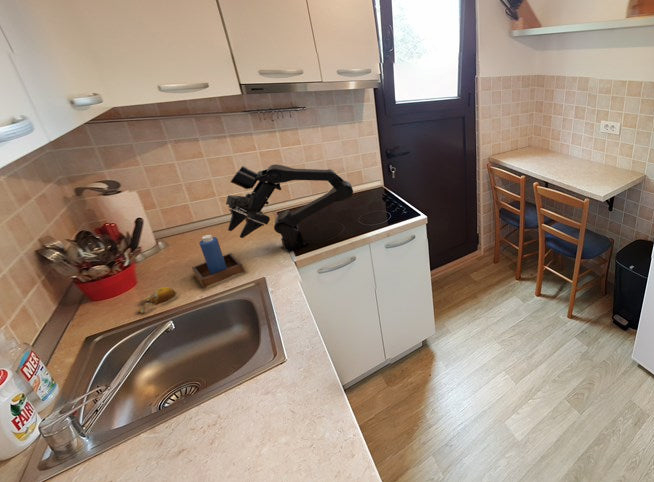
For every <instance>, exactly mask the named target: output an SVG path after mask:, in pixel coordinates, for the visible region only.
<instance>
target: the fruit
mask: <svg viewBox="0 0 654 482" xmlns="http://www.w3.org/2000/svg"><path fill="white" fill-rule="evenodd" d="M175 296H176V291H175V290H174V289H173V288H171V287H159V288H158V289H157V290H156V291H154V292H152V294H150V295H148V296H146V297H145V298H144V300H145V304H144V306H146V307H153V306H155V305H160V304H163V303H166V302H168V301H170V300H171V299H173V298H174V297H175ZM141 305H143V303H141ZM144 308H145V307H142V309H139V313H141V314H142V313H146V310H145V309H144Z"/></svg>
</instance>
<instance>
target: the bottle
mask: <svg viewBox="0 0 654 482" xmlns="http://www.w3.org/2000/svg"><path fill="white" fill-rule="evenodd" d="M199 247H200V249H201V252H202V255H203V257H204V260H205V261H204V262H206V263H207V266H208V269H209V272H210V274H211V275H212V274H215V273H218V272H220V271H223V270H225V269H227V266H226V263H225V260H224V257H223V256H224V255H223V251H222V248H221V246H220V242H219V240H218V237H215V236H213V235H212V234H206V235H203V236H202V237H201V240H200V241H199Z"/></svg>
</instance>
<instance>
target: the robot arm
mask: <svg viewBox="0 0 654 482" xmlns="http://www.w3.org/2000/svg"><path fill="white" fill-rule="evenodd" d="M291 181H320V182H322V181H323V182H328V183H329V184H330V186H332V188H331V189H330V190H329V191H328V192H327V193H325V194H323V195H321V196H319V197H317V198H316V199H314V200H312V201H310V202H309V203H307V204H305V205H303V206H301V207H299V208H298V209H295V210H292V211H290V209H289V208H286V210H285V211H283V212H281V213H278V215H277V216H276V217H275V220H274V225H273V229H274V232H276V233H277V234H279V235H280V236H281V238H280V241H281V245H282V248H283V249H285V250H286V251H288V252H293V251H295V250H297V249H300V248H302V247H305V246H306V243H305V242H304V239H303V234H302V231H301V230H300V229H299V223H300V222H302V221H303V220H305V219H306V218H308V217H311V216H312V215H313V214H315V213H317V212H319V211H321V210H323V209H324V208H327V207H328V206H329V205H332V204H333V203H338V202H342V201H345V200H347V199H350V198H351V197H353V195H354V189H353V186H352V184H351V183H350V182H349V181H347V180H344V179H343V178H342V177H341V176H339V175H338V174H337V173H336V172H335V171H334V170H333V169H330V168H328V169H318V168H317V169H316V168H315V169H313V168H295V167H294V168H293V167H289V166H286V165H281V164H271V165H270V166H269V167H267V168H266V169H262V170H259V171H258V172H256V171H253V170H251V169H250V168H248V167H246V166H245V165H242V166H241V167H240V169H238V171H236V172H235V174H234V175H233V177H232V178H231V180H230V183H232V184H233V185H235V186H238V187H240V188H242V189H245V190H250V189H253V190H252V191H251V193H246V195H245V196H242V195H231V194H230V195H227V198H226V202H225V204H226V205H228V209H229V210H228V211H229V212H230V214H231V217H230V221H229V225H228V228H227V231H229V232H233V231H234V230H235V229H236V228H237V227H239V225H240V224H241V223H243V222H244V221H245V224H244V226H243V228H242V230H241V232H240V234H239V238H241V239H244V238H245V237H247V236H248V235H250V234H252V233H253V232H254V231H256V230H257V229H259V228H261V227H264V226H265V225H268V224H269V222H270V221H271V219H270V216H269V215H267V214H264V213H263V212H264V211H262V210H263V208H264V207H265V205H267V206H268V205H269V204H270V202H269V201H268V200H269V199H270V198H271V196H272V194H273V193H274V191H275V190H278V191H282V187H281V184H283V183H287V182H291Z"/></svg>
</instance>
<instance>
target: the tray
mask: <svg viewBox="0 0 654 482" xmlns="http://www.w3.org/2000/svg"><path fill="white" fill-rule="evenodd" d="M223 257H224V260H225V263H226V266H227V269H225V270H223V271H220V272H218V273H215V274H212V275H211V274H210V272H209V269H208V266H207V263H206V261H204V262H202V263H199V264H197V265H194V266H191V270H192V272H193V274H194V276H195V278H196V279H197V280H198V282H199V283H200V284H201V286H202V287H203V288H208V287H209V286H211V285H214V284H217V283H219V282H221V281H224V280H226V279H229V278H231V277H233V276H236V275H239V274H241V273H243V272H245V269H244V266H243V263H242V262H240V260H239V259H238V258H237V257H236V256H235V255H233V254H232V253H231V252H229V253H226V254H224V255H223Z"/></svg>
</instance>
